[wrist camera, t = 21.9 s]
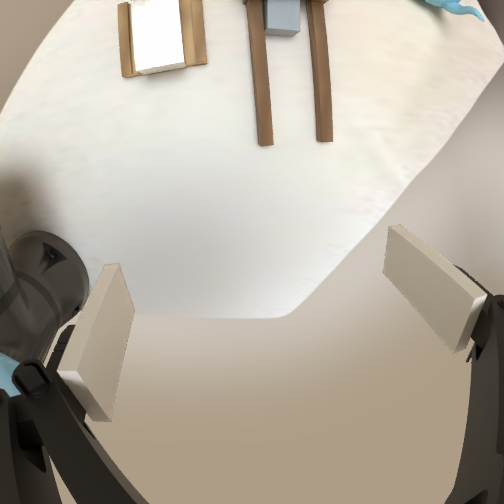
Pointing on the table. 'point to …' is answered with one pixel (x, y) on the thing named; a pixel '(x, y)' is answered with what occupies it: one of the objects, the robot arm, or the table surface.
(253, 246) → the table surface
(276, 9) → the block
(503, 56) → the table surface
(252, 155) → the table surface
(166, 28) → the block
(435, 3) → the teapot
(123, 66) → the tan tray
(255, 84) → the brown wooden forked piece
